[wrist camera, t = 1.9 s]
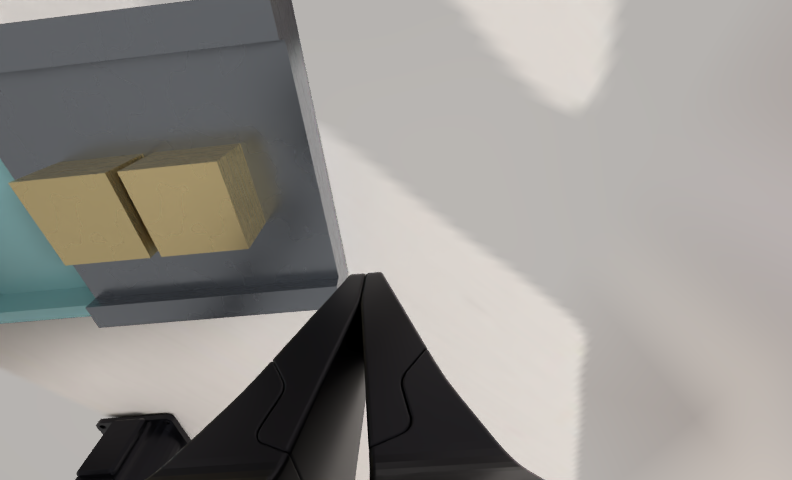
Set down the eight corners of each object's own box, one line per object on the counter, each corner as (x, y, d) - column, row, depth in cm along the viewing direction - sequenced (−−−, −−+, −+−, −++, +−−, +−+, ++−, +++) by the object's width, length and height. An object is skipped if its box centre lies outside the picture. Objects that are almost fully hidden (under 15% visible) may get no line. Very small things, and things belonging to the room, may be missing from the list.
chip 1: (179, 230, 18) (150, 257, 16) (103, 237, 18) (65, 265, 16) (142, 153, 16) (104, 172, 14) (58, 162, 16) (7, 182, 14)
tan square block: (265, 222, 18) (248, 249, 16) (188, 229, 18) (161, 257, 16) (240, 143, 16) (216, 161, 14) (153, 152, 16) (117, 171, 14)
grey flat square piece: (348, 272, 23) (341, 307, 20) (135, 291, 23) (99, 327, 21) (291, -3, 15) (267, -10, 12) (-19, 35, 16) (-108, 37, 13)
